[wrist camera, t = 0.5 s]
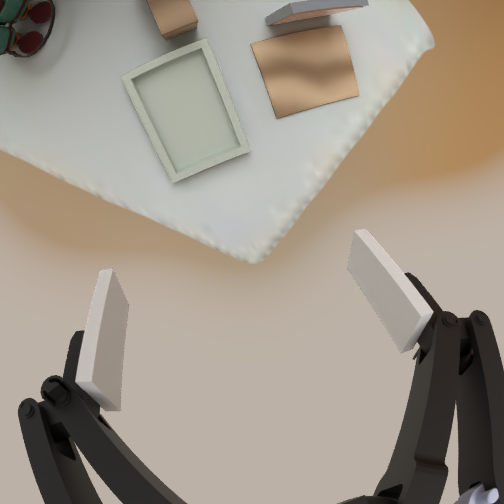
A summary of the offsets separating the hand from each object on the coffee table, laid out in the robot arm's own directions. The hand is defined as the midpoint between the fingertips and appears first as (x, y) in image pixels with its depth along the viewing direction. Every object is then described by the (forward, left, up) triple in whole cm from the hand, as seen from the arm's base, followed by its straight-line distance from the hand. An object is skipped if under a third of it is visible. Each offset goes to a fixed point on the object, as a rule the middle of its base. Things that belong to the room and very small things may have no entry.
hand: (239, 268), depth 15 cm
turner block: (-20, +2, -27) cm, 34 cm away
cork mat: (-5, +16, -27) cm, 32 cm away
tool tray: (-5, -1, -27) cm, 27 cm away
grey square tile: (-13, +17, -27) cm, 34 cm away
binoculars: (-28, -15, -27) cm, 42 cm away
